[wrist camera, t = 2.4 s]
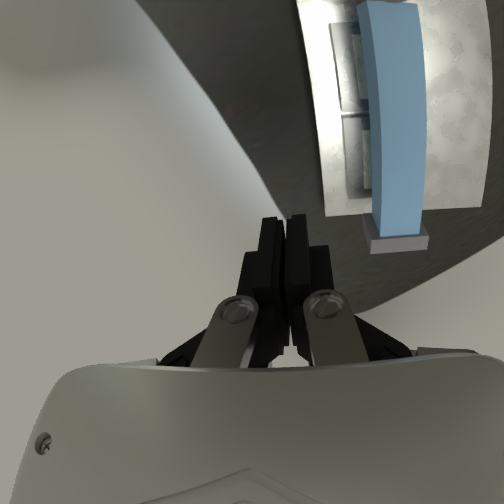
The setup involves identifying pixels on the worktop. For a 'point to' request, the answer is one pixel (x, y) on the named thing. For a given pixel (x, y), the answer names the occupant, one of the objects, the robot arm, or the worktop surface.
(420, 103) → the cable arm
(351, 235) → the worktop surface
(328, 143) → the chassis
